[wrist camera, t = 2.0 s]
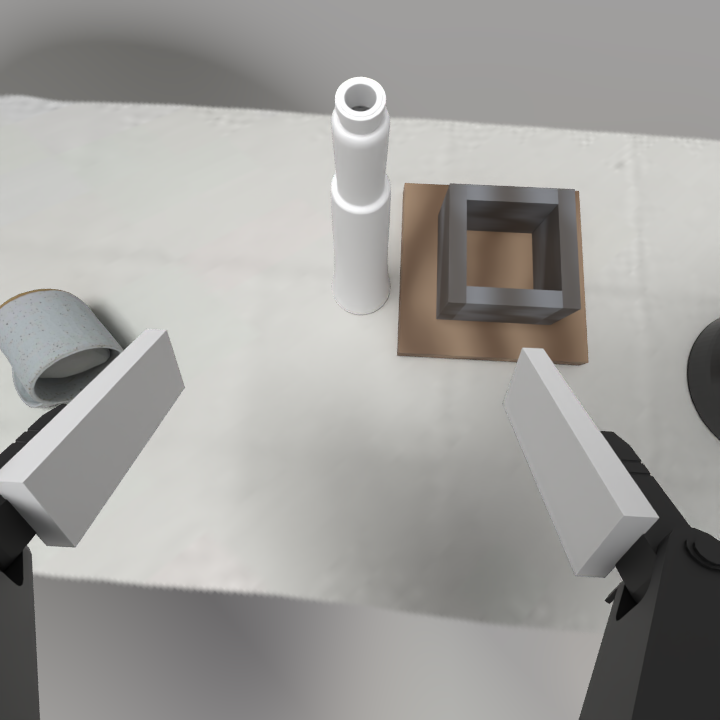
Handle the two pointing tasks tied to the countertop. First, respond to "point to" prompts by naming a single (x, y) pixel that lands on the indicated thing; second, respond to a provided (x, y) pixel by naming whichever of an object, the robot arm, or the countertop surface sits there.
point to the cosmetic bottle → (360, 196)
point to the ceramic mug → (53, 345)
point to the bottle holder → (491, 273)
